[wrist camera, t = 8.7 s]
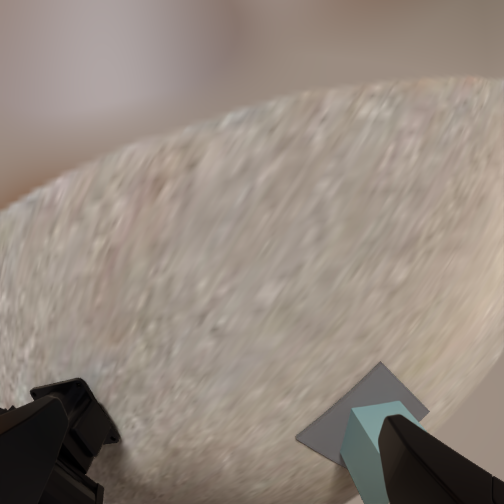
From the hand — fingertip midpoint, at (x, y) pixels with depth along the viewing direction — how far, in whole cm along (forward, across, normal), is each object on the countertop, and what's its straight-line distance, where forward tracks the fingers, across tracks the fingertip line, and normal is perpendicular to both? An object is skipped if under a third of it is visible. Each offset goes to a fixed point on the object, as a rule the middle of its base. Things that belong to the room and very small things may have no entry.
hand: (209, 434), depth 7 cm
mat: (+13, -10, +13) cm, 21 cm away
